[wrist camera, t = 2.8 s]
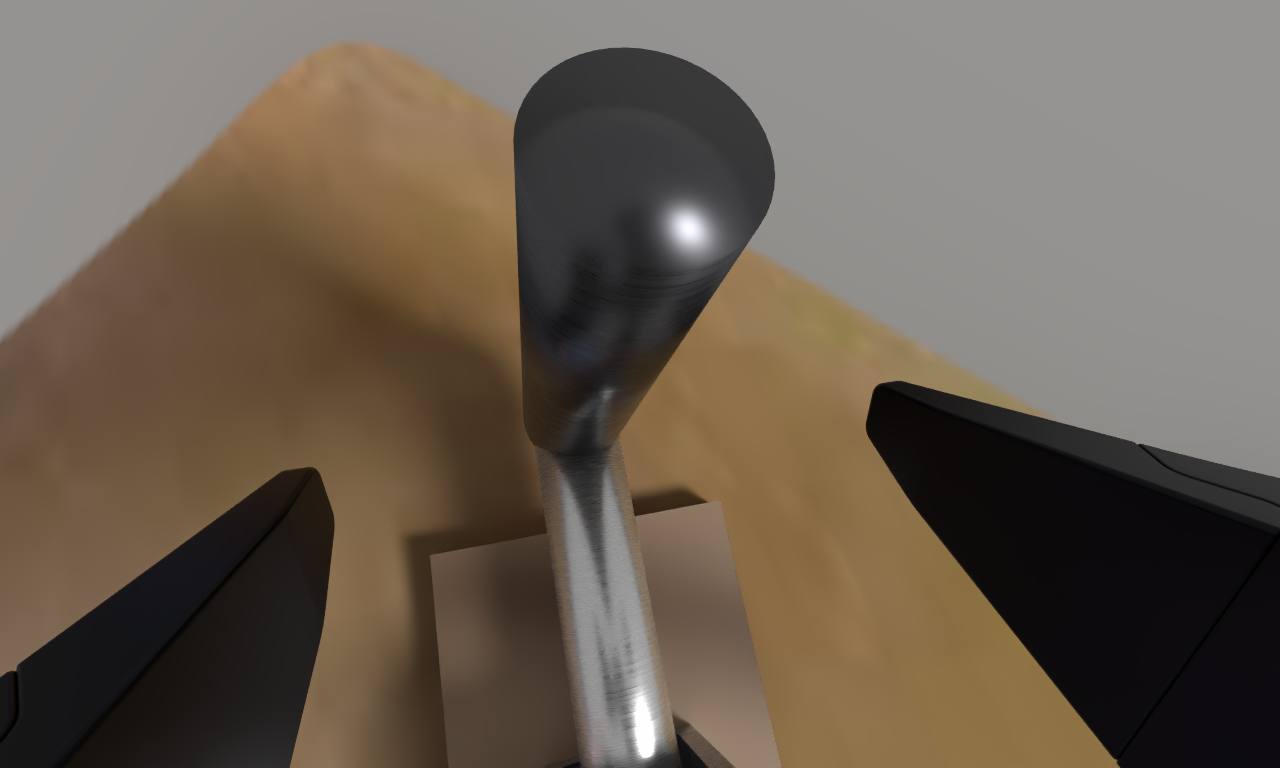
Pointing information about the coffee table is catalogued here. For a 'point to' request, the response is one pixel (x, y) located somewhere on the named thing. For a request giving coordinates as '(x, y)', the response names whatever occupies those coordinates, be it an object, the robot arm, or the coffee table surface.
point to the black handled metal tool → (618, 337)
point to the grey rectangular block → (696, 753)
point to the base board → (535, 660)
